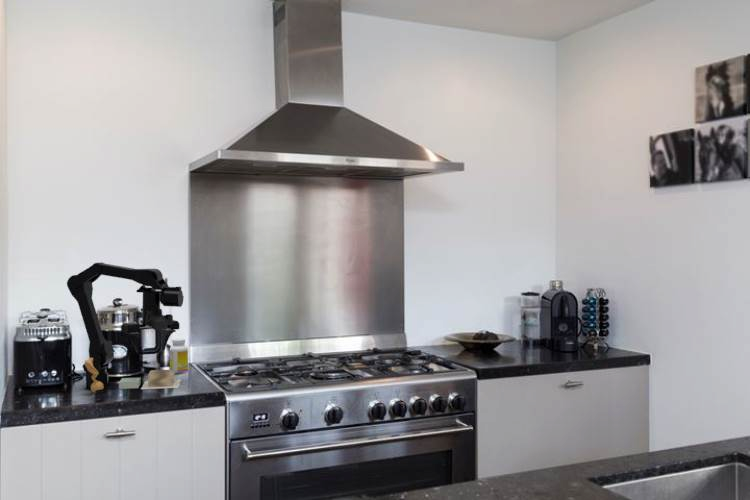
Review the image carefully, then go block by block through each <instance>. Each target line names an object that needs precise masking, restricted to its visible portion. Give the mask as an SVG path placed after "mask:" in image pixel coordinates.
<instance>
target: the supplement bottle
mask: <svg viewBox="0 0 750 500" xmlns="http://www.w3.org/2000/svg"><path fill="white" fill-rule="evenodd" d="M171 341H172V342H171V343H172V345H171V346H170V348H169V370H175V374H177V373H188V372H189V348H188V346H187V345H186V344H185V343H186V339H185V338H174V339H172V340H171Z"/></svg>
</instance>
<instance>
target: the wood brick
mask: <svg viewBox="0 0 750 500" xmlns="http://www.w3.org/2000/svg"><path fill="white" fill-rule="evenodd" d="M175 374H176V373H175V370H170V369H159V370H157V369H156V370H154V369H153V370H150V371H149V372H148V374H147V381H148V387H160V386H173V384H174V382H175V379H176V377H175V376H176V375H175Z"/></svg>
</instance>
